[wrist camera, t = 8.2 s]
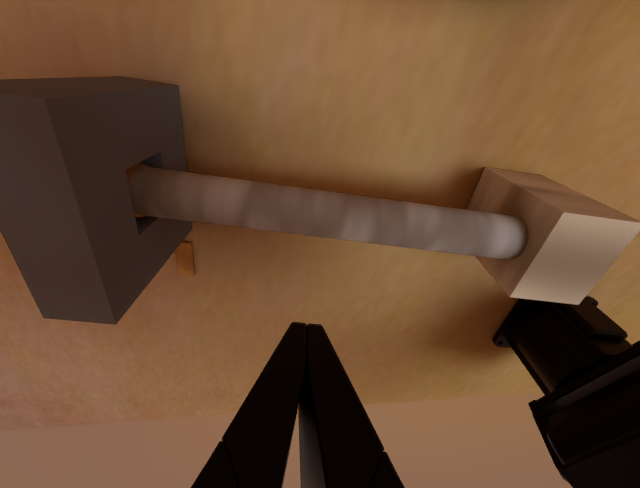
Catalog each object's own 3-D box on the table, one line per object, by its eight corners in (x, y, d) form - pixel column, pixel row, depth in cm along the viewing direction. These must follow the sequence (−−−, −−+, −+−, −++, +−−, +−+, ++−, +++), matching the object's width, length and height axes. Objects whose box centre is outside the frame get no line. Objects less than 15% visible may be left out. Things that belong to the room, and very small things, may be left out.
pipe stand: (470, 303, 25) (519, 377, 19) (27, 255, 22) (-81, 325, 16) (541, 175, 19) (645, 223, 13) (-50, 87, 16) (-267, 97, 10)
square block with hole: (192, 228, 20) (115, 324, 13) (148, 223, 20) (43, 317, 12) (178, 85, 16) (44, 99, 8) (121, 76, 16) (-73, 81, 8)
